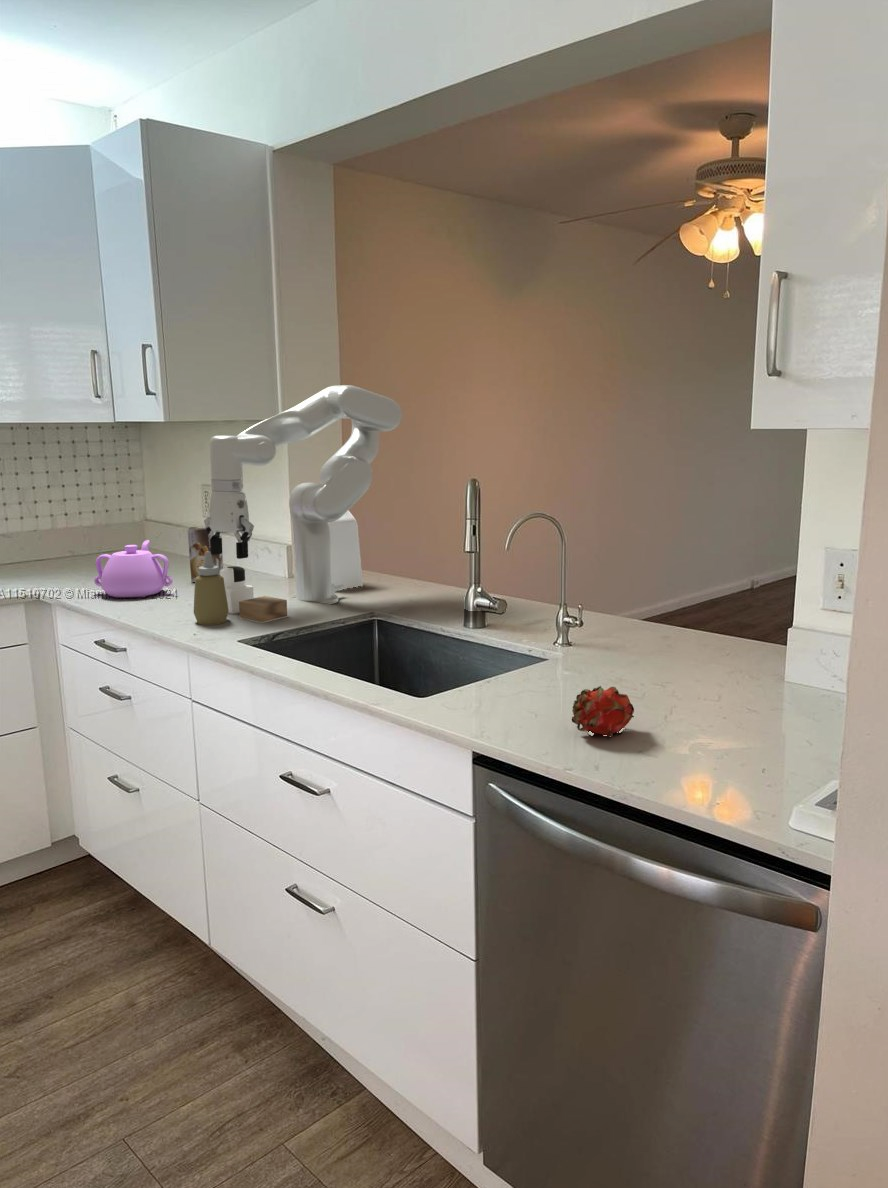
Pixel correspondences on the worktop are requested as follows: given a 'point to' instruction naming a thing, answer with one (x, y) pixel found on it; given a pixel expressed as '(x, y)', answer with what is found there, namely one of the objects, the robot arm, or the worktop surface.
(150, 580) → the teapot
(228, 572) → the medicine bottle
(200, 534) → the coffee box
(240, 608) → the base block
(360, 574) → the milk
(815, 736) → the worktop surface
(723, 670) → the worktop surface
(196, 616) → the squeeze bottle
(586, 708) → the dragon fruit
